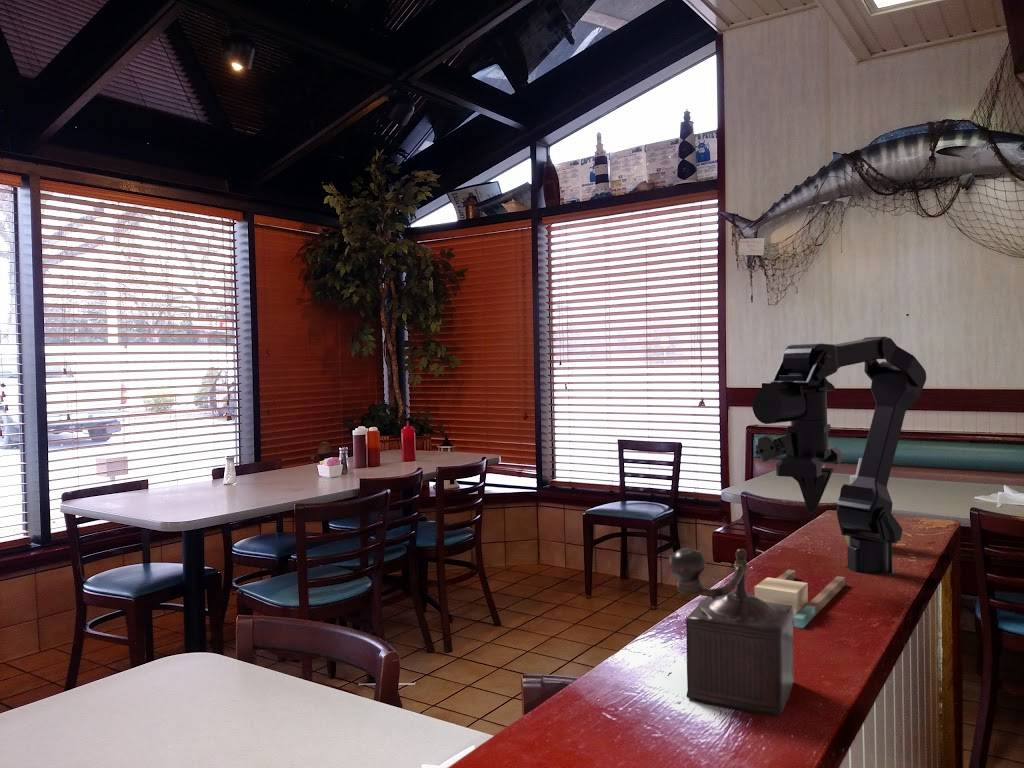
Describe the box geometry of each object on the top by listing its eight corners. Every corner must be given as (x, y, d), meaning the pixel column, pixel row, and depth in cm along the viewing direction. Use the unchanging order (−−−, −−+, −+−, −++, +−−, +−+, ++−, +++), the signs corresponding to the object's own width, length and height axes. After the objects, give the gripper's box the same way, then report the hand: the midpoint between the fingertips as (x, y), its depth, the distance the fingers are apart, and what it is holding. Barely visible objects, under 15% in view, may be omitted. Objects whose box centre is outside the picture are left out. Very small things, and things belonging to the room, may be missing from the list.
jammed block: (767, 603, 119) (767, 577, 119) (807, 609, 116) (807, 583, 116) (754, 613, 114) (754, 586, 114) (796, 620, 111) (796, 593, 111)
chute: (786, 580, 134) (785, 569, 134) (847, 589, 128) (847, 577, 128) (735, 620, 113) (735, 607, 113) (805, 633, 108) (805, 619, 107)
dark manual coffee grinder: (702, 666, 97) (700, 523, 96) (796, 682, 91) (794, 531, 91) (665, 717, 83) (662, 551, 83) (772, 739, 78) (769, 561, 77)
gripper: (775, 414, 141) (778, 498, 142) (742, 424, 126) (746, 519, 126) (840, 414, 135) (843, 503, 135) (814, 425, 119) (817, 525, 120)
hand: (811, 512), depth 129 cm, fingers closed
